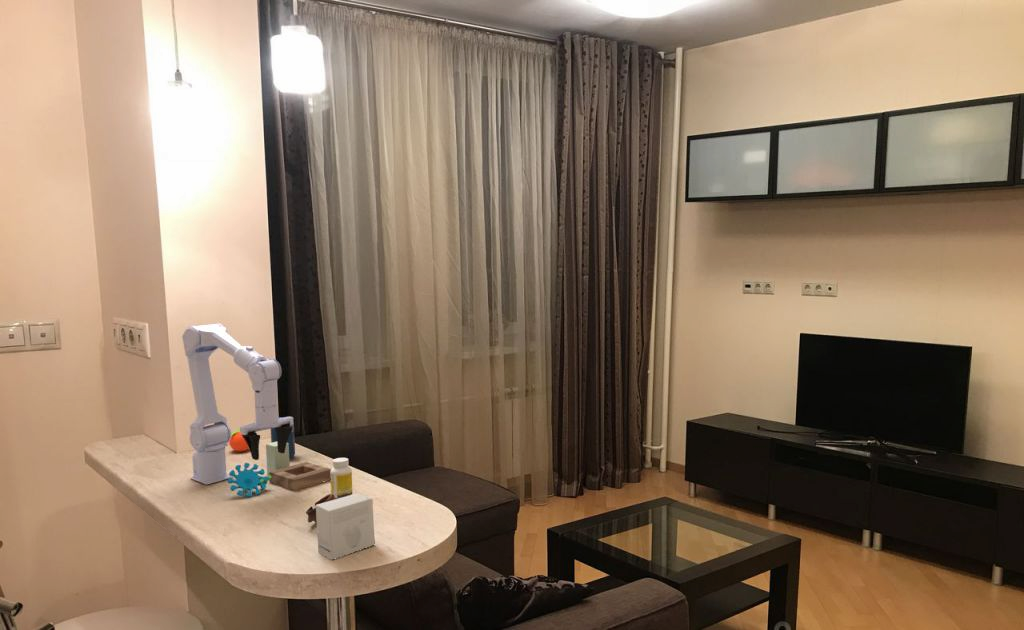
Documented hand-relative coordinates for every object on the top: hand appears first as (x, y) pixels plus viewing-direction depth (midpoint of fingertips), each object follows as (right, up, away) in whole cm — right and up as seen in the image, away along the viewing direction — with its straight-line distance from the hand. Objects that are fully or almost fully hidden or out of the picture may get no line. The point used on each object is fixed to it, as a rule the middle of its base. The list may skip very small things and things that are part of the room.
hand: (268, 455), depth 187 cm
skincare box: (+30, -13, -37) cm, 49 cm away
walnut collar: (+6, -9, +9) cm, 14 cm away
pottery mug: (+23, -12, -23) cm, 35 cm away
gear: (-5, -10, 0) cm, 11 cm away
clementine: (-24, -7, +41) cm, 48 cm away
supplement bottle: (+21, -10, -4) cm, 23 cm away
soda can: (-7, -8, +32) cm, 34 cm away
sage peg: (-3, -9, +16) cm, 19 cm away
